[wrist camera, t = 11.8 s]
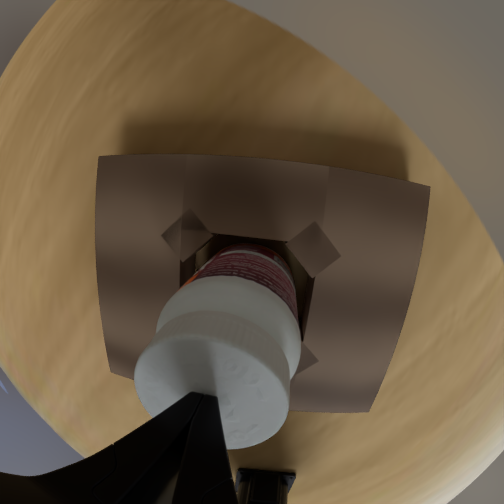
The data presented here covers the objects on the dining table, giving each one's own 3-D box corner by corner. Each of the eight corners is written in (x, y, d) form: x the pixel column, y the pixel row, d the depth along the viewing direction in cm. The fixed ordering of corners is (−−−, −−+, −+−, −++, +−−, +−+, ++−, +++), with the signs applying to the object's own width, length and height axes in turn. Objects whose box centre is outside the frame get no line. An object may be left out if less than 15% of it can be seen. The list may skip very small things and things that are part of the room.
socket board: (360, 388, 19) (368, 412, 16) (127, 353, 21) (110, 372, 18) (409, 186, 16) (430, 186, 13) (122, 159, 18) (98, 156, 15)
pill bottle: (207, 235, 18) (107, 296, 7) (301, 247, 18) (328, 336, 7) (202, 319, 19) (131, 432, 8) (287, 332, 19) (284, 466, 8)
